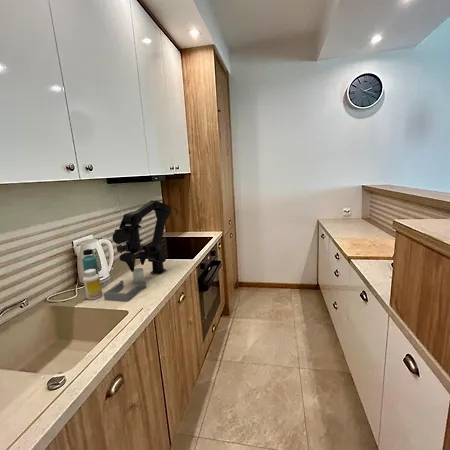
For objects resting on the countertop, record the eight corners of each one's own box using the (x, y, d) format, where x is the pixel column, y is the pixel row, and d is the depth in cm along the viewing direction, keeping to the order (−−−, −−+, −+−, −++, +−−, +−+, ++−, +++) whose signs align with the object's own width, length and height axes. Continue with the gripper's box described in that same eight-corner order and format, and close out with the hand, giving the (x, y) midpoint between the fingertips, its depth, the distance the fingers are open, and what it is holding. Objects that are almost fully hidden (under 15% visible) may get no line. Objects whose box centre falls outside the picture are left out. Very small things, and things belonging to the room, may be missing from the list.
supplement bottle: (105, 295, 122) (101, 269, 119) (92, 301, 116) (87, 274, 113) (96, 292, 125) (92, 267, 122) (83, 298, 119) (78, 272, 117)
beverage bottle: (85, 292, 126) (78, 252, 122) (88, 286, 132) (81, 248, 128) (99, 289, 127) (93, 250, 123) (102, 284, 134) (96, 247, 130)
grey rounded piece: (137, 280, 137) (136, 267, 135) (146, 280, 135) (144, 268, 134) (131, 284, 132) (130, 271, 130) (141, 285, 130) (139, 272, 129)
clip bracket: (121, 285, 131) (121, 280, 130) (146, 287, 127) (146, 281, 127) (102, 299, 117) (101, 293, 117) (129, 301, 114) (129, 295, 113)
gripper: (130, 233, 139) (133, 261, 143) (107, 243, 122) (112, 274, 125) (148, 233, 137) (152, 261, 140) (128, 244, 119) (132, 275, 122)
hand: (137, 268), depth 132 cm, fingers open, 9 cm apart
